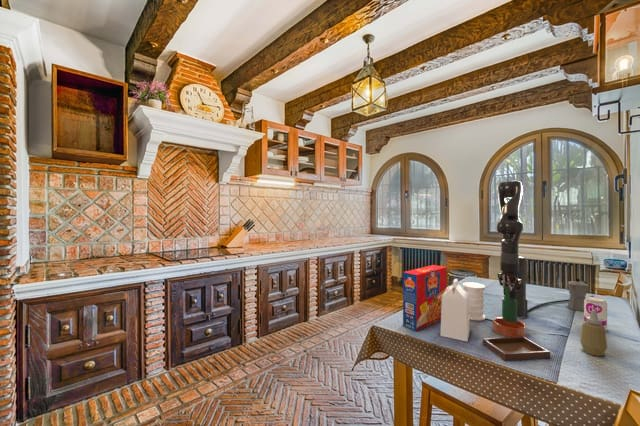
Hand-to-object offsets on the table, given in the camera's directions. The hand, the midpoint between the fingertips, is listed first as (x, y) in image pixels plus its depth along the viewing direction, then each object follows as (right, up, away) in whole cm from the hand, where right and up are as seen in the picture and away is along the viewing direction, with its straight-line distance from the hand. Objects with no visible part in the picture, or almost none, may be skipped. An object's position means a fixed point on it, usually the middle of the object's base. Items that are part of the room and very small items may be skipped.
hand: (509, 296), depth 138 cm
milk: (-26, -18, 0) cm, 32 cm away
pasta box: (-35, -18, +15) cm, 42 cm away
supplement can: (+46, -17, +5) cm, 49 cm away
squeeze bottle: (+23, -18, -19) cm, 35 cm away
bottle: (0, -11, 0) cm, 11 cm away
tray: (-9, -18, -16) cm, 26 cm away
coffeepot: (+62, -16, +32) cm, 72 cm away
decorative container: (-7, -17, +20) cm, 27 cm away
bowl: (0, -18, +1) cm, 18 cm away
